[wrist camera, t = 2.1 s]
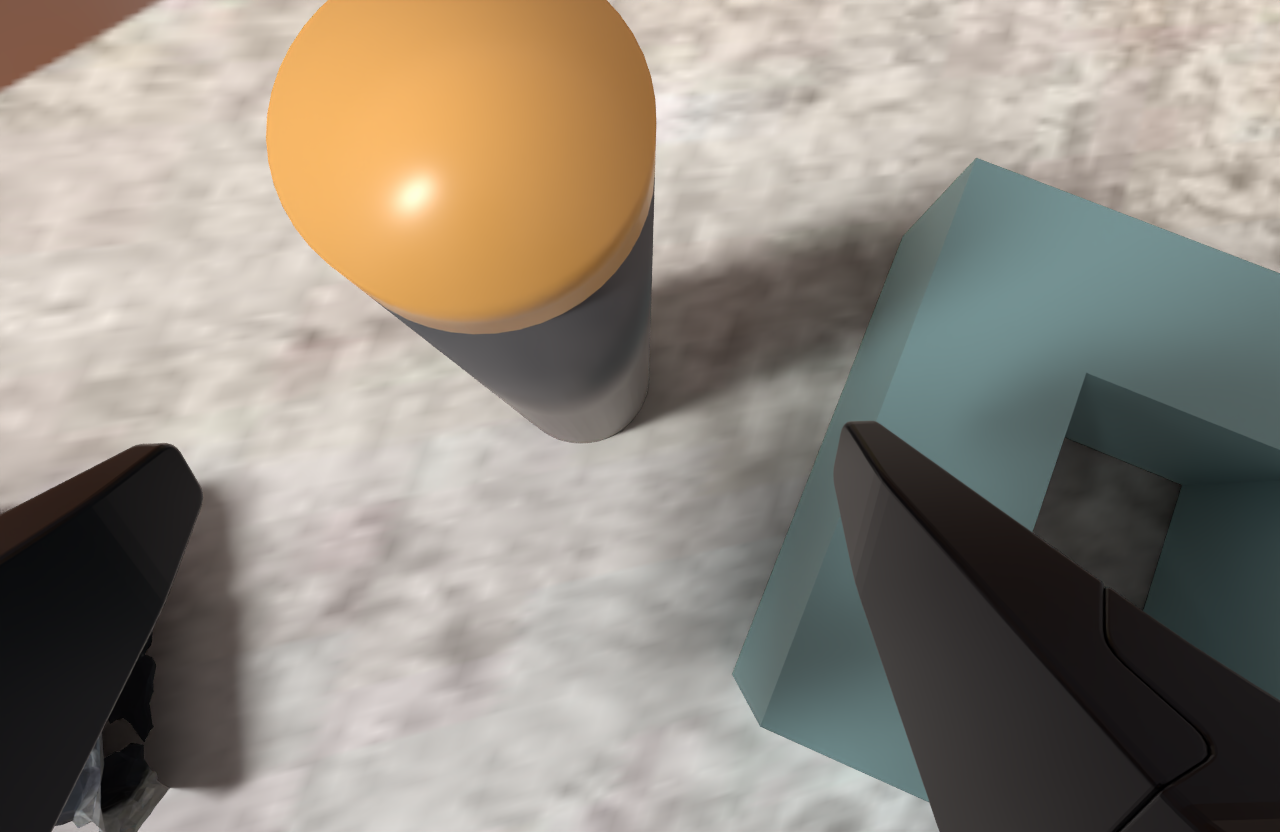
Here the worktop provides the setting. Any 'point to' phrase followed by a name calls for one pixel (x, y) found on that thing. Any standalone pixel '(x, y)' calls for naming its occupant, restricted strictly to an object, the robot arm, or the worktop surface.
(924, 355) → the socket
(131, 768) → the electronic device
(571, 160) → the plug
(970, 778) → the robot arm
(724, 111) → the worktop surface
